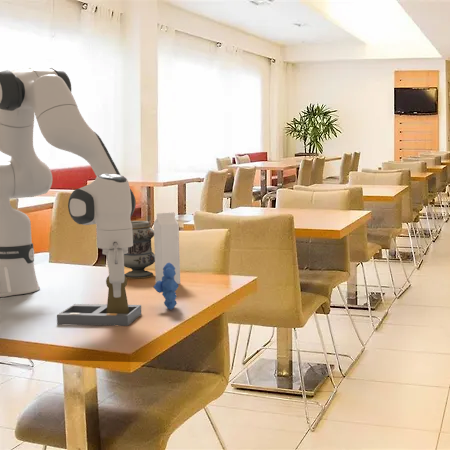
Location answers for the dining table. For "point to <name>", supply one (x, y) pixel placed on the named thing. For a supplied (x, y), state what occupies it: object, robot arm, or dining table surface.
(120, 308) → the cork
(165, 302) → the grapes
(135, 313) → the panel
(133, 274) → the apothecary jar
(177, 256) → the milk
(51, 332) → the dining table surface
